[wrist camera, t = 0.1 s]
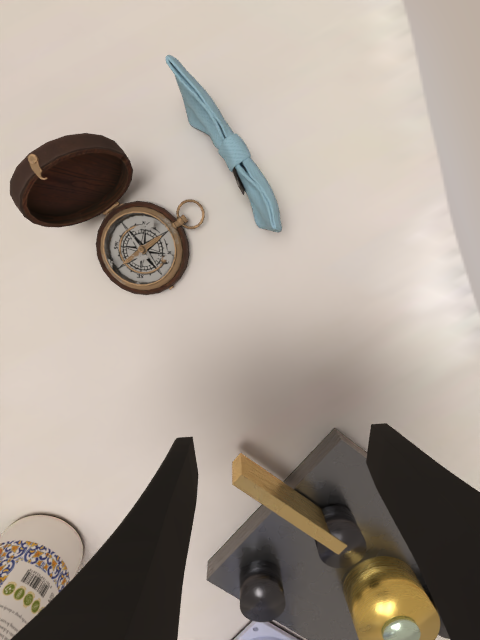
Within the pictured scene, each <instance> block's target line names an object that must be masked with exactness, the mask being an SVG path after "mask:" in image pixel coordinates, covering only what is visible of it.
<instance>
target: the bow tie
mask: <svg viewBox="0 0 480 640" xmlns="http://www.w3.org/2000/svg"><path fill="white" fill-rule="evenodd" d="M166 63H167V64H168V66H169V67H170V69H171V70H172V71H173V73H174V74H175V77H176V81H177V83H178V86H179V89H180V91H181V94H182V97H183V100H184V104H185V108H186V112H187V116H188V120H189V123H190V125H191V126H193V127H194V128H196V129H199V130H201V131H203V132H205V133H206V134H208V135H210V137H211V139H212V141H213V143H214V145H215V147H216V148H218V149H219V154H220V155H221V156H222V157H223V158H224V160H225V161H226V164H227V166H228V168H229V170H230V171H231V172H233V173H234V176H235V178H236V181H237V184H238V186H239V188H240V190H241V192H242V193H243V195H244V191H245V192H246V193H247V195H248V197H249V200H250V202H251V206H252V209H253V214H254V218H255V222H256V224H257V226H258V227H259V228H262V229H268V230H271V231H274V232H280V231H281V230H282V226H281V221H280V212H279V208H278V204H277V201H276V198H275V196H274V193H273V191H272V189H271V187H270V185H269V183H268V182H267V180H266V179H265V177H264V176H263V174H262V173H261V171H260V170H259V168H258V167H257V165H256V164H255V163H254V162H253V160H252V159H251V158H250V157H251V155H250V152H249V150H248V148H247V146H246V144H245V143H244V141H243V140H242V139H241V138H240V137H239V136H238V135H237V134H234V133H233V131H232V130H231V128H230V127H229V125H228V124H227V123H226V121H225V120H224V118H223V116H222V115H221V113H220V111H219V109H218V108H217V106H216V105H215V103H214V102H213V100H212V98H211V97H210V96H209V95H208V93H207V92H206V91H205V90H204V89H203V87H202V86H201V85H200V84H199V83H198V82H197V81H196V80H195V78H194V77H193V76H192V75H191V74H190V73H189V72H188V71H187V70H186V69H185V68H184V67H183V65H182V64H181V63H180V62H179V61H178V60H177V59H176V58H174V57H173V56H171V55H168V56H166Z"/></svg>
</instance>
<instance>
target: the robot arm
mask: <svg viewBox="0 0 480 640" xmlns="http://www.w3.org/2000/svg"><path fill="white" fill-rule="evenodd" d="M366 464H367V466H368V469H369V472H370V474H371V477H372V479H373V481H374V484H375V486H376V489H377V491H378V493H379V494H380V496H381V498H382V500H383V502H384V504H385V506H386V507H387V509H388V511H389V513H390V515H391V517H392V519H393V520H394V522H395V524H396V526H397V528H398V529H399V531H400V533H401V535H402V537H403V539H404V540H405V542H406V544H407V546H408V548H409V550H410V551H411V553H412V555H413V557H414V559H415V561H416V563H417V565H418V567H419V569H420V571H421V573H422V576H423V578H424V580H425V582H426V585H427V587H428V589H429V591H430V593H431V596H432V598H433V600H434V602H435V605H436V607H437V609H438V612H439V614H440V616H441V619H442V621H443V623H444V626H445V628H446V630H447V633H448V635H449V637H450V640H480V492H479V491H477V490H475V489H474V488H473V487H471V486H470V485H468V484H467V483H465V482H464V481H462V480H461V479H459V478H458V477H457V476H455V475H454V474H452V473H451V472H450V471H448V470H447V469H445V468H444V467H443V466H441V465H440V464H439V463H437V462H436V461H435V460H433V459H432V458H431V457H429V456H428V455H427V454H425V453H424V452H423V451H421V450H420V449H419V448H418V447H416V446H415V445H414V444H412V443H411V442H410V441H409V440H407V439H406V438H405V437H403V436H402V435H401V434H400V433H398V432H397V431H396V430H394V429H393V428H392V427H390V426H389V425H388V424H371V430H370V437H369V445H368V452H367V459H366ZM197 486H198V469H197V463H196V456H195V450H194V443H193V437H182V438H177V439H176V440H175V441H174V443H173V445H172V447H171V449H170V450H169V452H168V454H167V456H166V458H165V459H164V461H163V463H162V464H161V466H160V468H159V469H158V471H157V472H156V474H155V476H154V477H153V479H152V480H151V482H150V483H149V485H148V486H147V488H146V489H145V491H144V492H143V494H142V495H141V497H140V498H139V499H138V501H137V502H136V504H135V505H134V507H133V508H132V509H131V511H130V512H129V513H128V515H127V516H126V517H125V519H124V520H123V521H122V523H121V524H120V525H119V526H118V528H117V529H116V530H115V531H114V533H113V534H112V535H111V536H110V538H109V539H108V540H107V541H106V542H105V543H104V545H103V546H102V547H101V548H100V549H99V550H98V551H97V553H96V554H95V555H94V556H93V557H92V558H91V560H90V561H89V562H88V563H87V564H86V565H85V566H84V567H83V568H82V569H81V571H80V572H79V573H78V574H77V575H76V576H75V577H74V578H73V579H72V580H71V581H70V582H69V583H68V584H67V585H66V586H65V587H64V588H63V589H62V590H61V591H60V592H59V593H58V594H57V595H56V596H55V597H54V598H53V599H52V600H51V601H50V602H49V603H48V604H47V605H46V606H45V607H44V608H43V609H42V610H41V611H40V612H39V613H38V614H37V615H36V616H35V617H34V618H33V619H32V620H31V621H30V622H28V623H27V624H26V625H25V626H24V627H23V628H22V629H21V630H20V631H19V632H18V633H17V634H15V635H14V636H13V637H12V638H11V639H10V640H177V637H178V625H179V615H180V604H181V594H182V585H183V578H184V571H185V565H186V559H187V553H188V548H189V542H190V536H191V530H192V525H193V519H194V513H195V507H196V499H197ZM234 640H299V639H297V638H295V637H293V636H292V635H290V634H288V633H287V632H285V631H283V630H282V629H280V628H278V627H276V626H275V625H273V624H271V623H270V622H255V621H252V622H251V623H250V624H249V625H248V626H247V627H246V628H245V629H244V630H243V631H242V632H241V633H240V634H239V635H238V636H237V637H236V638H235V639H234Z"/></svg>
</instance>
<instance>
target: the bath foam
mask: <svg viewBox="0 0 480 640" xmlns="http://www.w3.org/2000/svg"><path fill="white" fill-rule="evenodd" d="M82 556H83V545H82V541H81V539H80V537H79V535H78V533H77V532H76V531H75V529H74V528H73V527H72V526H70V525H69V524H68V523H66V522H65V521H63V520H61V519H58V518H56V517H52V516H47V515H33V516H28V517H25V518H22V519H20V520H18V521H16V522H14V523H13V524H12V525H10V526H9V527H8V528H7V529H6V530H5V531H4V532H3V534H2V535H1V536H0V640H10V639H11V638H12V637H13V636H14V635H15V634H17V633H18V632H19V631H20V630H21V629H22V628H23V627H24V626H25V625H26V624H27V623H28V622H30V621H31V620H32V619H33V618H34V617H35V616H36V615H37V614H38V613H39V612H40V611H41V610H42V609H43V608H44V607H45V606H46V605H47V604H48V603H49V602H50V601H51V600H52V599H53V598H54V597H55V596H56V595H57V594H58V593H59V592H60V591H61V590H62V589H63V588H64V587H65V586H66V585H67V584H68V583H69V582H70V581H71V580H72V579H73V578H74V576H75V574H76V572H77V569H78V567H79V565H80V563H81V560H82Z"/></svg>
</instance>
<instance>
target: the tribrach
mask: <svg viewBox="0 0 480 640" xmlns="http://www.w3.org/2000/svg"><path fill="white" fill-rule="evenodd" d="M366 459H367V452H365V451H364V450H363V449H362V448H360V447H359V446H358V445H356V444H355V443H354V442H352V441H351V440H350V439H348V438H347V437H346V436H344V435H343V434H342V433H340V432H339V431H338V430H336V429H335V428H334V429H333V430H332V431H331V432H330V434H329V435H328V436H327V437H326V438H325V439H324V440H323V441H322V442H321V443H320V444H319V445H318V446H317V447H316V448H315V449H314V450H313V451H312V453H311V454H310V455H309V456H308V457H307V458H306V459H305V460H304V461H303V462H302V463H301V464H300V465H299V466H298V467H297V468H296V469H295V470H294V471H293V473H292V474H291V475H290V476H289V477H288V478H287V479H286V480H285V481H284V483H285V484H287V485H288V486H289V487H291V488H292V489H294V490H295V491H297V492H298V493H300V494H301V495H302V496H304V497H305V498H307V499H308V500H310V501H311V502H313V503H314V504H316V505H317V506H318V507H320V508H321V509H323V508H325V507H329V506H342V507H345V508H347V509H348V510H349V511H351V513H352V514H353V516H354V518H355V520H356V522H357V524H358V526H359V528H360V530H361V532H362V535H363V537H364V539H365V541H366V545H367V548H366V553H365V555H364V557H363V558H362V559H361V560H360V561H359V562H358V563H356V564H355V565H353V566H350V567H347V568H333V567H330V566H328V565H326V564H325V563H324V562H323V561H322V560H321V559H320V557H319V554H318V550H317V547H316V543H315V540H314V538H312V537H311V536H309V535H308V534H306V533H305V532H303V531H302V530H300V529H299V528H297V527H296V526H294V525H293V524H291V523H290V522H288V521H287V520H285V519H284V518H282V517H281V516H279V515H278V514H276V513H275V512H273V511H272V510H270V509H269V508H267V507H266V506H264V505H263V504H262V505H261V506H260V507H259V508H258V509H257V510H256V512H255V513H254V514H253V515H252V516H251V517H250V518H249V519H248V520H247V521H246V522H245V523H244V524H243V525H242V526H241V527H240V528H239V529H238V531H237V532H236V533H235V534H234V535H233V536H232V537H231V538H230V539H229V540H228V541H227V542H226V543H225V544H224V545H223V546H222V547H221V548H220V549H219V551H218V552H217V553H216V554H215V555H214V556H213V557H212V558H211V559H210V560H209V561H208V568H207V581H209V582H211V583H212V584H214V585H216V586H218V587H219V588H221V589H223V590H224V591H226V592H228V593H229V594H231V595H233V596H235V597H236V598H238V599H240V609H241V612H242V614H243V615H244V616H245V617H246V618H248V619H249V620H252V621H255V622H268V621H272V620H275V621H277V622H279V623H280V624H282V625H284V626H286V627H287V628H289V629H291V630H292V631H294V632H296V633H297V634H299V635H301V636H302V637H304V638H306V639H308V640H435V639H436V637H437V635H440V636H441V637H444V638H448V639H450V637H449V635H448V633H447V630H446V628H445V626H444V623H443V621H442V619H441V616H440V614H439V612H438V609H437V607H436V605H435V602H434V600H433V598H432V596H431V593H430V591H429V589H428V587H427V585H426V582H425V580H424V578H423V576H422V573H421V571H420V569H419V567H418V565H417V563H416V561H415V559H414V557H413V555H412V553H411V551H410V550H409V548H408V546H407V544H406V542H405V540H404V539H403V537H402V535H401V533H400V531H399V529H398V528H397V526H396V524H395V522H394V520H393V519H392V517H391V515H390V513H389V511H388V509H387V507H386V506H385V504H384V502H383V500H382V498H381V496H380V494H379V493H378V491H377V489H376V486H375V484H374V481H373V479H372V477H371V474H370V472H369V469H368V466H367V464H366Z"/></svg>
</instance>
